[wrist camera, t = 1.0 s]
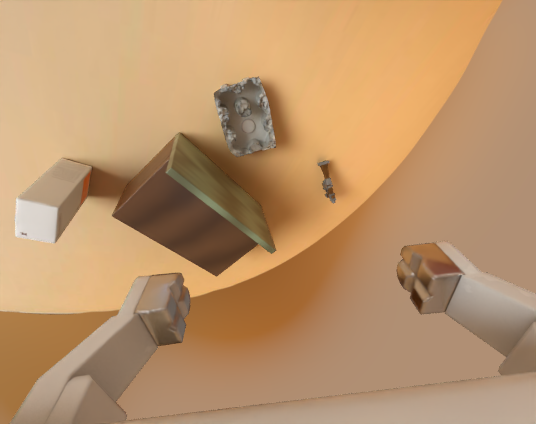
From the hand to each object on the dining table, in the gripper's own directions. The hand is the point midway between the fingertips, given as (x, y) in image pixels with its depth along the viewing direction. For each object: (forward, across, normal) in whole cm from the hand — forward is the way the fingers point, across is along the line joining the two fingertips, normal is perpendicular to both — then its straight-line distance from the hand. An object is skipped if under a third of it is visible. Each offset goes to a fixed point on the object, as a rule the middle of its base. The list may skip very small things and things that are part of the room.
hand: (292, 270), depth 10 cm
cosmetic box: (+32, +30, +7) cm, 45 cm away
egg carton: (+36, +3, +2) cm, 36 cm away
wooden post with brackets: (+38, -11, +15) cm, 43 cm away
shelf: (+35, +13, +15) cm, 40 cm away
